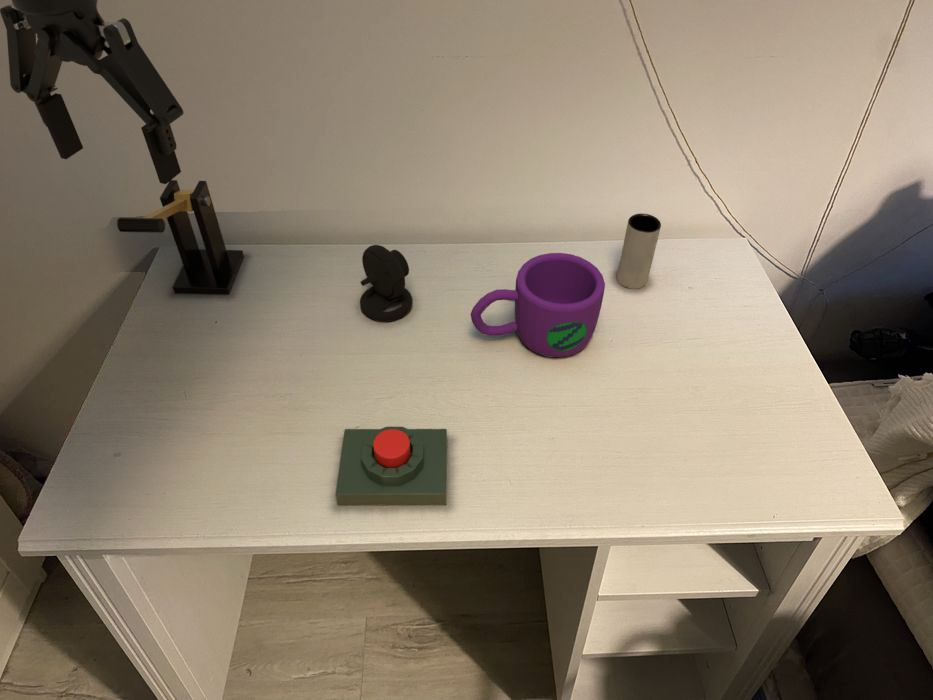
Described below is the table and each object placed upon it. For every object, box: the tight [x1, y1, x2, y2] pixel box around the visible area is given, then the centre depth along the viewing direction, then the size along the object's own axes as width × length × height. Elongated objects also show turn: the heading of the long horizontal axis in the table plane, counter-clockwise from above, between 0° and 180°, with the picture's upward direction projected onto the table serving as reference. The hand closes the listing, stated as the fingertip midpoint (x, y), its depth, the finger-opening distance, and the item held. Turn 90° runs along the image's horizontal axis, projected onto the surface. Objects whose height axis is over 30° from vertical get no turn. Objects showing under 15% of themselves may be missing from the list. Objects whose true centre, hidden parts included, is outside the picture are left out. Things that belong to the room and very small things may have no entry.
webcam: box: [359, 244, 413, 323], centre depth 98 cm, size 8×8×10 cm
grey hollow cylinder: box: [616, 213, 662, 290], centre depth 103 cm, size 4×4×10 cm
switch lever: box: [116, 189, 195, 234], centre depth 91 cm, size 16×5×2 cm, turn 178°
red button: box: [373, 429, 410, 468], centre depth 79 cm, size 4×4×2 cm
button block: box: [335, 426, 448, 506], centre depth 80 cm, size 12×9×4 cm
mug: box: [470, 252, 606, 358], centre depth 94 cm, size 17×11×10 cm, turn 100°
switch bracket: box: [159, 179, 245, 296], centre depth 101 cm, size 9×8×15 cm
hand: (120, 165), depth 80 cm, fingers open, 13 cm apart
